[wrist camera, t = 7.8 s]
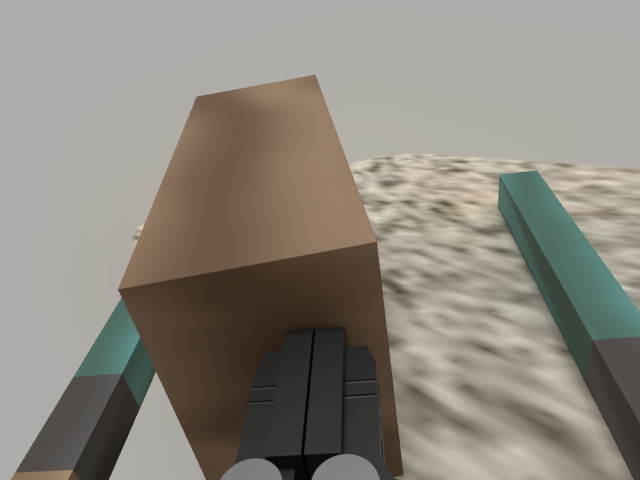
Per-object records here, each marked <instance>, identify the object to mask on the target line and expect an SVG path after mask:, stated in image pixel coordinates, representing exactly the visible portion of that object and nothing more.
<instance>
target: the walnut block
mask: <svg viewBox="0 0 640 480" xmlns="http://www.w3.org/2000/svg"><path fill="white" fill-rule="evenodd" d="M118 290H119V292H120V294H121V297H122V299H123V301H124V303H125V305H126V308H127V310H128V312H129V314H130V316H131V318H132V320H133V323H134V325H135V327H136V329H137V331H138V333H139V336H140V338H141V340H142V342H143V344H144V346H145V349H146V351H147V353H148V355H149V357H150V359H151V361H152V364H153V366H154V368H155V370H156V372H157V374H158V377H159V379H160V381H161V383H162V385H163V387H164V390H165V392H166V394H167V396H168V398H169V400H170V402H171V405H172V406H173V409H174V411H175V413H176V415H177V418H178V420H179V422H180V424H181V426H182V428H183V431H184V433H185V435H186V437H187V439H188V441H189V443H190V446H191V448H192V450H193V452H194V454H195V456H196V459H197V461H198V463H199V465H200V467H201V469H202V472H203V474H204V476H205V478H206V480H220V479H221V478H222V476H223V475H224V474H225V473H226V472H227V471H228V470H229V469H230V468H231V467H233V466H234V464H235V461H236V458H237V453H238V449H239V444H240V440H241V435H242V430H243V426H244V421H245V416H246V412H247V407H248V405H249V398H250V393H251V390H252V384H253V379H254V375H255V370H256V368H257V367H258V365H259V364H260V362H261V361H262V359H263V358H264V357H265V355H266V354H267V353H276V352H282V348H283V342H284V336H285V332H286V331H293V330H305V329H315V330H316V329H317V328H328V327H341V326H345V329H346V334H347V340H348V345H349V347H354V346H367V347H368V349H369V350H370V352H371V354H372V355H373V357H374V359H375V360H376V366H377V373H378V381H379V388H380V395H381V404H382V422H383V438H384V455H385V467H386V469H387V470H388V471H389V473H390V474H391V475H392V476H393V477H394V476H400V475H403V468H402V459H401V450H400V441H399V433H398V424H397V415H396V406H395V398H394V389H393V380H392V371H391V362H390V354H389V345H388V336H387V327H386V318H385V310H384V301H383V292H382V283H381V275H380V266H379V257H378V248H377V241H376V238H375V236H374V233H373V230H372V227H371V225H370V222H369V219H368V217H367V214H366V211H365V208H364V206H363V203H362V200H361V198H360V195H359V192H358V189H357V187H356V184H355V181H354V179H353V176H352V173H351V170H350V168H349V165H348V162H347V160H346V157H345V154H344V151H343V149H342V146H341V143H340V141H339V138H338V135H337V132H336V130H335V127H334V125H333V122H332V119H331V116H330V113H329V111H328V108H327V106H326V103H325V100H324V97H323V95H322V92H321V89H320V86H319V84H318V81H317V78H316V76H315V75H312V76H308V77H301V78H296V79H290V80H285V81H280V82H275V83H269V84H263V85H258V86H252V87H247V88H242V89H236V90H231V91H225V92H220V93H215V94H209V95H204V96H198V97H196V100H195V102H194V105H193V107H192V110H191V112H190V115H189V117H188V119H187V122H186V124H185V127H184V129H183V132H182V134H181V137H180V139H179V142H178V144H177V146H176V149H175V151H174V154H173V156H172V159H171V161H170V164H169V166H168V169H167V171H166V173H165V176H164V178H163V181H162V183H161V186H160V188H159V191H158V193H157V195H156V198H155V200H154V203H153V205H152V208H151V210H150V213H149V215H148V218H147V220H146V222H145V225H144V227H143V230H142V232H141V235H140V237H139V240H138V242H137V244H136V247H135V249H134V252H133V254H132V257H131V259H130V262H129V264H128V267H127V269H126V271H125V274H124V276H123V279H122V281H121V284H120V286H119V289H118Z"/></svg>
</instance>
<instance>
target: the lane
mask: <svg viewBox="0 0 640 480" xmlns="http://www.w3.org/2000/svg"><path fill="white" fill-rule="evenodd" d="M498 207H499V209H500V211H501V213H502V215H503V217H504V219H505V221H506V223H507V225H508V227H509V229H510V231H511V233H512V235H513V237H514V239H515V241H516V243H517V245H518V247H519V249H520V251H521V253H522V255H523V257H524V259H525V261H526V263H527V265H528V267H529V269H530V271H531V273H532V275H533V277H534V279H535V281H536V283H537V285H538V287H539V289H540V291H541V293H542V295H543V297H544V299H545V301H546V303H547V305H548V307H549V309H550V311H551V313H552V315H553V317H554V319H555V321H556V323H557V325H558V327H559V329H560V331H561V333H562V335H563V337H564V339H565V341H566V343H567V345H568V347H569V349H570V351H571V353H572V355H573V357H574V359H575V361H576V363H577V365H578V367H579V369H580V371H581V373H582V375H583V377H584V379H585V381H586V383H587V385H588V387H589V389H590V391H591V393H592V395H593V397H594V399H595V401H596V403H597V405H598V407H599V409H600V411H601V413H602V415H603V417H604V419H605V421H606V423H607V425H608V427H609V429H610V431H611V433H612V435H613V437H614V439H615V441H616V443H617V445H618V447H619V449H620V451H621V453H622V455H623V457H624V459H625V461H626V463H627V465H628V467H629V469H630V471H631V473H632V475H633V477H634V479H635V480H640V312H639V311H638V309H637V308H636V307H635V305H634V304H633V303H632V301H631V300H630V298H629V297H628V296H627V294H626V293H625V291H624V290H623V289H622V287H621V286H620V285H619V283H618V282H617V280H616V279H615V278H614V276H613V275H612V274H611V272H610V271H609V269H608V268H607V267H606V265H605V264H604V262H603V261H602V260H601V258H600V257H599V256H598V254H597V253H596V251H595V250H594V249H593V247H592V246H591V245H590V243H589V242H588V240H587V239H586V238H585V236H584V235H583V233H582V232H581V231H580V229H579V228H578V227H577V225H576V224H575V222H574V221H573V220H572V218H571V217H570V215H569V214H568V213H567V211H566V210H565V209H564V207H563V206H562V204H561V203H560V202H559V200H558V199H557V198H556V196H555V195H554V193H553V192H552V191H551V189H550V188H549V186H548V185H547V184H546V182H545V181H544V180H543V178H542V177H541V175H540V174H539V173H538V171H528V172H519V173H510V174H502V175H499V198H498ZM155 372H156V370H155V368H154V366H153V364H152V361H151V359H150V357H149V355H148V353H147V351H146V349H145V346H144V344H143V342H142V340H141V338H140V336H139V333H138V331H137V329H136V327H135V325H134V323H133V320H132V318H131V316H130V314H129V312H128V310H127V308H126V305H125V303H124V301H123V299H122V298H121V300H120V302H119V303H118V305H117V306H116V308H115V310H114V312H113V313H112V315H111V316H110V318H109V320H108V321H107V323H106V325H105V326H104V328H103V329H102V331H101V333H100V334H99V336H98V338H97V339H96V341H95V343H94V344H93V346H92V347H91V349H90V351H89V352H88V354H87V356H86V358H85V359H84V361H83V362H82V364H81V366H80V367H79V369H78V371H77V372H76V374H75V376H74V377H73V379H72V380H71V382H70V384H69V385H68V387H67V389H66V390H65V392H64V393H63V395H62V397H61V398H60V400H59V402H58V403H57V405H56V407H55V409H54V410H53V412H52V413H51V415H50V417H49V418H48V420H47V421H46V423H45V425H44V426H43V428H42V430H41V431H40V433H39V435H38V436H37V438H36V440H35V441H34V443H33V444H32V446H31V448H30V449H29V451H28V453H27V454H26V456H25V458H24V459H23V461H22V462H21V464H20V466H19V467H18V469H17V471H16V472H15V474H14V476H13V477H12V479H11V480H109V478H110V476H111V473H112V471H113V469H114V467H115V464H116V462H117V460H118V457H119V455H120V453H121V450H122V448H123V446H124V443H125V441H126V439H127V437H128V434H129V432H130V430H131V427H132V425H133V423H134V420H135V418H136V416H137V414H138V411H139V409H140V407H141V404H142V402H143V400H144V398H145V395H146V393H147V391H148V388H149V386H150V384H151V382H152V379H153V377H154V375H155Z"/></svg>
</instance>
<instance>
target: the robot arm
mask: <svg viewBox="0 0 640 480" xmlns="http://www.w3.org/2000/svg"><path fill="white" fill-rule="evenodd" d="M220 480H397V479H395V478H394V477H393V476H392V475H391V474H390V473H389V471H388V470H387V469H386V467H385V455H384V438H383V422H382V404H381V395H380V388H379V381H378V373H377V366H376V360H375V359H374V357H373V355H372V354H371V352H370V350H369V349H368V347H367V346H354V347H349V345H348V340H347V334H346V329H345V326H341V327H328V328H317V329H316V330H315V329H305V330H293V331H286V332H285V336H284V342H283V348H282V352H276V353H267V354H266V355H265V357H264V358H263V359H262V361H261V362H260V364H259V365H258V367H257V368H256V370H255V375H254V379H253V384H252V390H251V393H250V398H249V405H248V407H247V412H246V416H245V421H244V426H243V430H242V435H241V440H240V444H239V449H238V453H237V458H236V461H235V464H234V466H233V467H231V468H230V469H229V470H228V471H227V472H226V473H225V474H224V475H223V476H222V478H221V479H220Z"/></svg>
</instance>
